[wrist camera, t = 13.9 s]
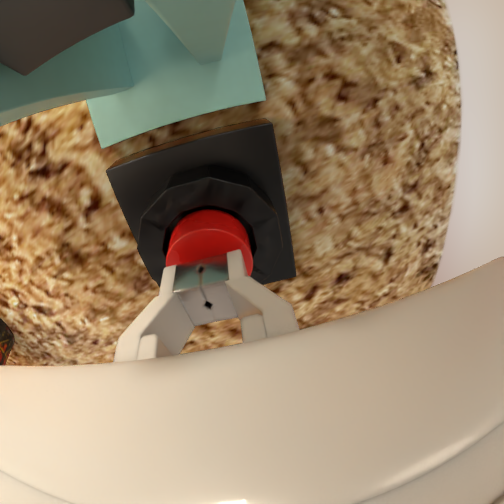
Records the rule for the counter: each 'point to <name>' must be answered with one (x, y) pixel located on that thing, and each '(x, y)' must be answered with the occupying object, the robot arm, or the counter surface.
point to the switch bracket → (146, 69)
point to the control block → (209, 193)
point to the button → (208, 238)
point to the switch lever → (52, 27)
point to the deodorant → (5, 342)
